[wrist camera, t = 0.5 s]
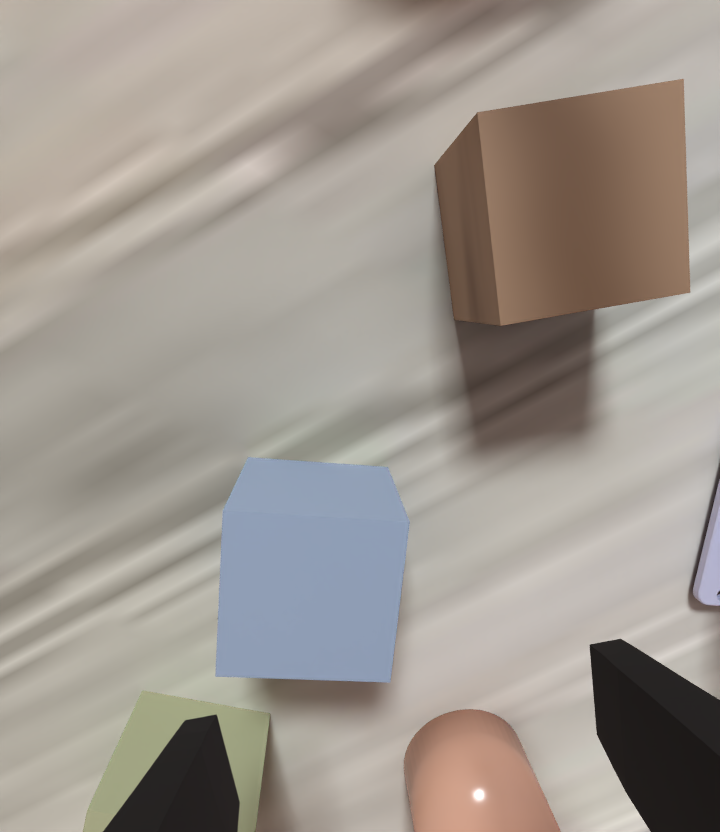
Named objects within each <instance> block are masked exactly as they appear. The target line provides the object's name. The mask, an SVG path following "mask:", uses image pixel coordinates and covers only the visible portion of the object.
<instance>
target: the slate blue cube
mask: <svg viewBox="0 0 720 832" xmlns="http://www.w3.org/2000/svg"><path fill="white" fill-rule="evenodd" d="M409 523H410V521H409V519H408V516H407V514H406V511H405V509H404V506H403V504H402V501H401V499H400V496H399V494H398V491H397V489H396V486H395V484H394V481H393V479H392V476H391V474H390V471H389V469H388V467H379V466H365V465H351V464H336V463H322V462H308V461H293V460H279V459H265V458H251V457H248V459H247V461H246V463H245V465H244V467H243V469H242V471H241V473H240V476H239V478H238V480H237V482H236V484H235V486H234V488H233V490H232V492H231V494H230V497H229V499H228V501H227V503H226V505H225V507H224V509H223V520H222V542H221V565H220V587H219V609H218V632H217V654H216V677H245V678H274V679H303V680H332V681H361V682H390V680H391V672H392V664H393V656H394V647H395V639H396V631H397V622H398V614H399V606H400V598H401V589H402V581H403V573H404V564H405V556H406V548H407V540H408V531H409Z"/></svg>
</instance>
